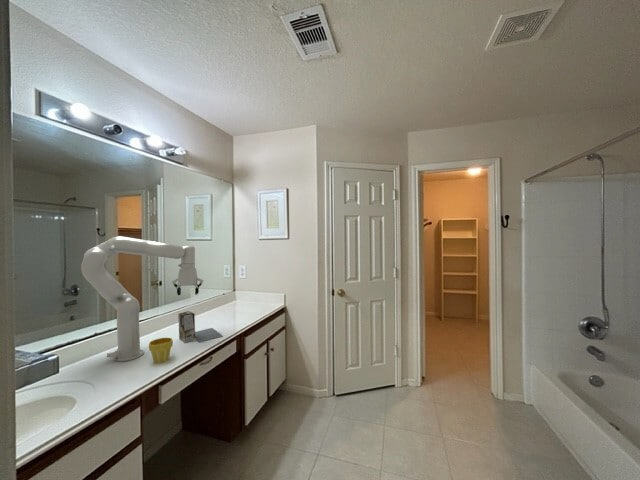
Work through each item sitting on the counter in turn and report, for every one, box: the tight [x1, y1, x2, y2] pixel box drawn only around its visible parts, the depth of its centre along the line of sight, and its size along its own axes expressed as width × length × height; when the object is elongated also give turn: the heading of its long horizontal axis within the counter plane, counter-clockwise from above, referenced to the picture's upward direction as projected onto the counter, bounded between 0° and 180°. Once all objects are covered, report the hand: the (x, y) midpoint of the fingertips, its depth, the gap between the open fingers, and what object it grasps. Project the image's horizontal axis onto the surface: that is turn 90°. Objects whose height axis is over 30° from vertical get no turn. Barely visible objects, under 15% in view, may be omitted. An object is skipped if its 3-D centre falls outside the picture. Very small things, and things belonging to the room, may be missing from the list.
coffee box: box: [177, 311, 196, 344], centre depth 163 cm, size 9×6×16 cm
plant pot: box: [148, 337, 174, 364], centre depth 136 cm, size 10×10×10 cm
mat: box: [195, 327, 224, 343], centre depth 170 cm, size 14×20×1 cm
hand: (187, 294), depth 162 cm, fingers open, 9 cm apart
